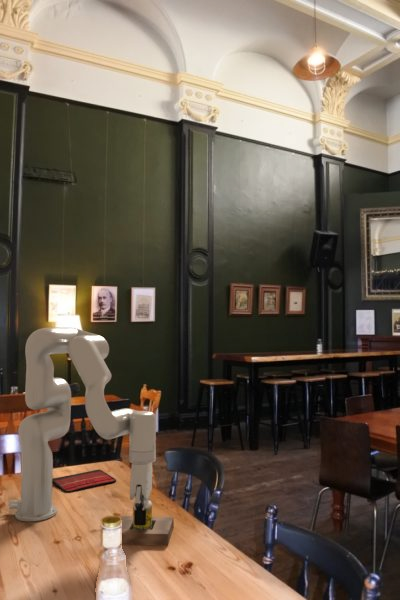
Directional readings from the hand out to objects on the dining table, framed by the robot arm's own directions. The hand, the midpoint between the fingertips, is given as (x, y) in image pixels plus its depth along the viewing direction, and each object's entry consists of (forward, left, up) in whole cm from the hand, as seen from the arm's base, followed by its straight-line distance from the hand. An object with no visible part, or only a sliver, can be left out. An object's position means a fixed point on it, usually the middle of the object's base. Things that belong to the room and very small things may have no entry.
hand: (142, 519), depth 136 cm
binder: (-32, +47, -5) cm, 57 cm away
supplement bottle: (0, 0, -3) cm, 3 cm away
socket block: (0, 0, -4) cm, 4 cm away
